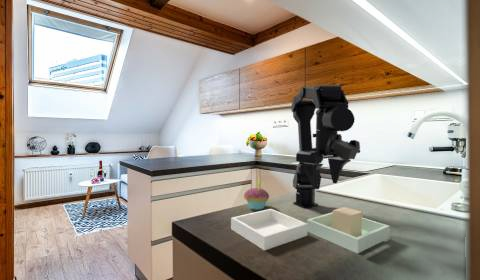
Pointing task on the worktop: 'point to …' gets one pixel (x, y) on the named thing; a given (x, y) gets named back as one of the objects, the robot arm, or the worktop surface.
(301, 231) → the bin
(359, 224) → the beige plain cubic block
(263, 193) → the cupcake
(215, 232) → the worktop surface
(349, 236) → the bin
